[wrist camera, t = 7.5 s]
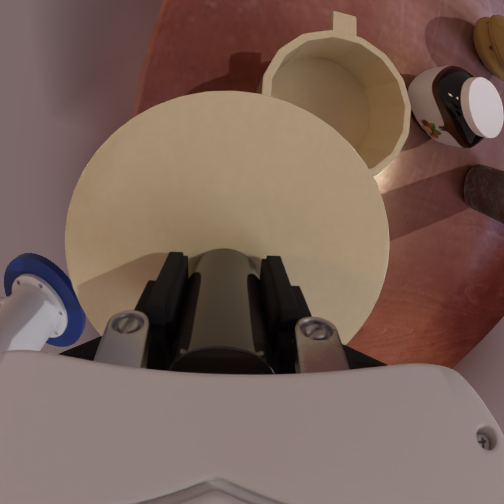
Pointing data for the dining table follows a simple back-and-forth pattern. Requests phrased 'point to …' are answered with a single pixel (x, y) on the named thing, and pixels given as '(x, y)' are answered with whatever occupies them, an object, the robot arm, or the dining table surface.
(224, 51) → the dining table surface
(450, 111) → the spread jar
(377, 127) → the pot
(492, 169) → the candle
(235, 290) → the lid
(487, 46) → the pot
